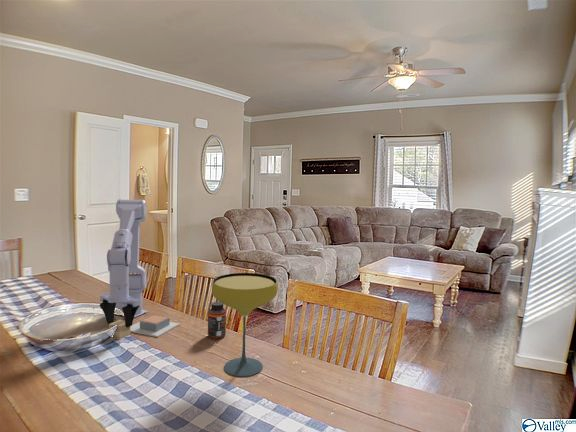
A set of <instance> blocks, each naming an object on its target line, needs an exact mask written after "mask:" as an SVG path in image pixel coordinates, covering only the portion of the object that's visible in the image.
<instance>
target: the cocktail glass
mask: <svg viewBox="0 0 576 432" xmlns="http://www.w3.org/2000/svg"><path fill="white" fill-rule="evenodd" d="M277 280H278V279H276V278H275V277H273V276H270V275H267V274H264V273H255V272H254V273H253V272H238V273H237V272H235V273H227V274H223V275H219V276H217V277H215V278H214V279H213V280H212V281H211V282H212V283H211V294H212V296H213V298H215V299H216V300H217V302H221V303H222V304H223V306H224V305H225V306H227V307H229V308H231V309H234V310H236V311H237V313H239V315H240V316H241V317H242V318H243V322H242V323H243V325H242V352H241V353H242V354H241V357H237V358H233V359H230V360H229V361H227V362H226V363H225V364H224V365H223V366H224V368H223V369H224V371H225V373H227V374H228V375H230V376H233V377H238V378H239V377H240V378H247V377H252V376H255V375H258V374H259V373H260V372H261V371H262V370H263V366H264V365H263V363H262V361H260V360H258V359H257V358H256V359H255V358H252V357H246V356H247V355H246V317H248V316H249V315H250V314H251V312H252V311H253V310H255V309H258V308H261V307H262V306H265V305H267V304H268V303H270V302H271V301H272V300H274V299H275V298H276V297H277V294H278V289H279V287H278V281H277Z"/></svg>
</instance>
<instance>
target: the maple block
mask: <svg viewBox="0 0 576 432" xmlns="http://www.w3.org/2000/svg"><path fill="white" fill-rule="evenodd" d="M115 325H117V329H116V331H115V333H114V335H113V338H112V339H114V338H115V340H122V339H125V338H126V337H128V336H131V332H130V327H128V328H127V327H126V326H125V320H122V319H118V320H116V321H115V320H114V322H113V323H110V324H108V329H109V328H111V327H113V326H115Z"/></svg>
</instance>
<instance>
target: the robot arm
mask: <svg viewBox="0 0 576 432" xmlns="http://www.w3.org/2000/svg"><path fill="white" fill-rule="evenodd" d="M115 212H116V215H117V217H118V218H119V229H118V230H116V231H115V233H114V236H113V240H112V244H111V248H110V249H108V250H107V253H106V265H107V270H108V271H107V272H109V293H107V294H106V293H103V294H100V295H99V301H100V303H99V307H100V308H101V310H102V312H103V315H104V316H105V319H106V320H105V321H106V322H107V323H106V324H107V325H109V324H111V323H113V322H115V315H114V313H116V310H115V308H118V309H120V310H121V311H122V312H123V313H124V316H125V317H124V316H123V317H124V321H125V326H126V327H127V328H128V327H130V326H132V325H133V323H134V322H133V321H134V319H135V318H137V317H140V316H141V315H144V314H146V313H148V310H146V309H143V291H145V289H146V288H147V283H148V281H147V280H148V279H147V271H146V269H145V268H144V267H142V266H141V265H140V262H139V261H140V233H141V232H140V228H141V224H142V223H144V222H146V219H147V202H146V200H145V199H121V198H119V199H117V201H116V203H115Z"/></svg>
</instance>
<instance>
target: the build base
mask: <svg viewBox="0 0 576 432" xmlns="http://www.w3.org/2000/svg"><path fill="white" fill-rule="evenodd" d="M170 320H171V319H170V317H166V316H160V315H155V314H153V315H151V316H148V317H147V318H144V319H142V320H140V321H138V322H136V323H134V324H132V326H130V333H135V334H139V335H144V336H149V337H153V338H160V337H161V336H163V335H165V334H166V333H168V332H171V331H172V330H173V329H175V328H176V327H177V328H178V327H179V326H180V324H181V323H179V322H173V321H170Z"/></svg>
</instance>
